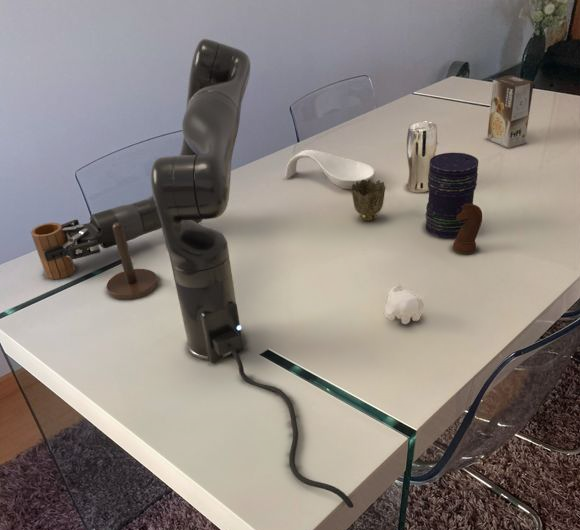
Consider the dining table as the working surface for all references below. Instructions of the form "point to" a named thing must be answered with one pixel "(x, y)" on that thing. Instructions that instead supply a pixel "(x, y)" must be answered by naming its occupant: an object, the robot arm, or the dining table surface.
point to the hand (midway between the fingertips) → (40, 250)
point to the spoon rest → (335, 168)
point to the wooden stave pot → (47, 239)
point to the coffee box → (509, 110)
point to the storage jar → (449, 192)
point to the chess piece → (468, 229)
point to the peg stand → (129, 273)
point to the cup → (368, 198)
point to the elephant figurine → (403, 305)
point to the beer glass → (420, 154)
